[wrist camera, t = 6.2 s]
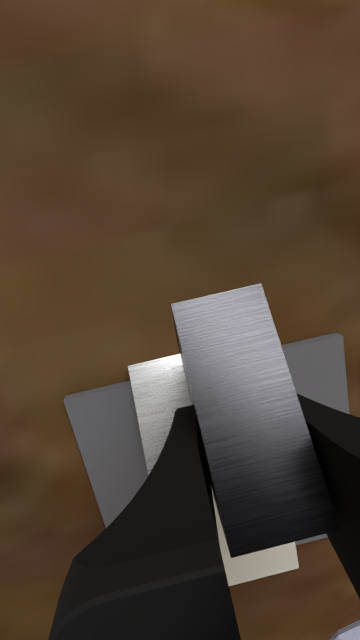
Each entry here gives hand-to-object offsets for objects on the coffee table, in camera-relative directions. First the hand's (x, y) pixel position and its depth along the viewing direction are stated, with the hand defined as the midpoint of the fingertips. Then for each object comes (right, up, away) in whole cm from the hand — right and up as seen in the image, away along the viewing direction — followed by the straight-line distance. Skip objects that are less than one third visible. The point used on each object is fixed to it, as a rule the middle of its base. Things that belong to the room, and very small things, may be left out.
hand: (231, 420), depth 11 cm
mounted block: (-1, +3, +2) cm, 4 cm away
